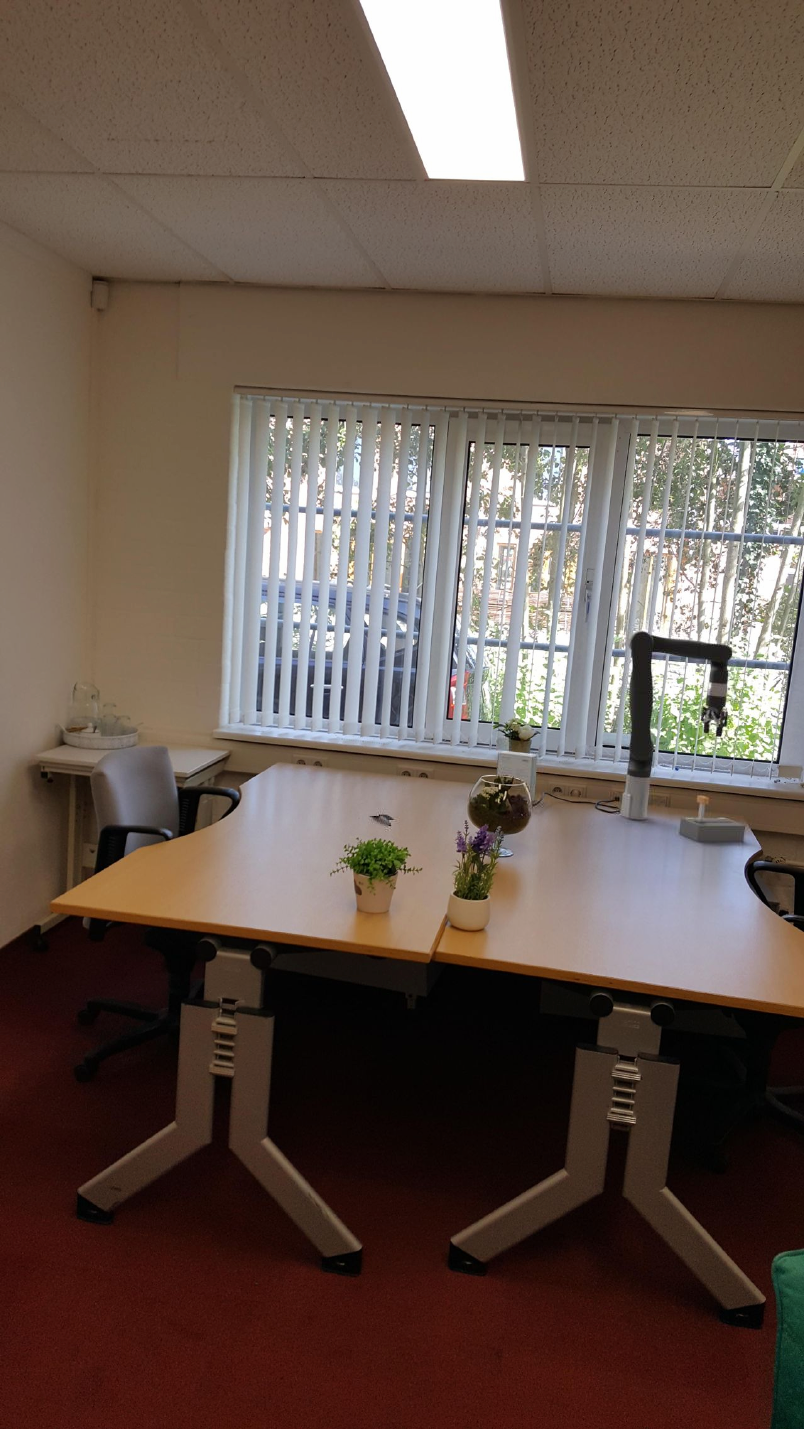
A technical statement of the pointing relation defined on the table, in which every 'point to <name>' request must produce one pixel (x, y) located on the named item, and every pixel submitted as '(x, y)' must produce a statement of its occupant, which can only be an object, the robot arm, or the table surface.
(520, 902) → the table surface
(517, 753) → the hard drive box
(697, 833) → the switch box
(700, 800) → the breaker handle
